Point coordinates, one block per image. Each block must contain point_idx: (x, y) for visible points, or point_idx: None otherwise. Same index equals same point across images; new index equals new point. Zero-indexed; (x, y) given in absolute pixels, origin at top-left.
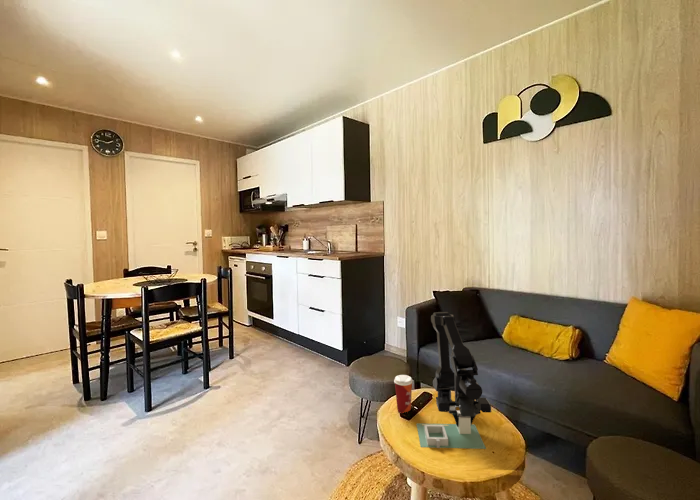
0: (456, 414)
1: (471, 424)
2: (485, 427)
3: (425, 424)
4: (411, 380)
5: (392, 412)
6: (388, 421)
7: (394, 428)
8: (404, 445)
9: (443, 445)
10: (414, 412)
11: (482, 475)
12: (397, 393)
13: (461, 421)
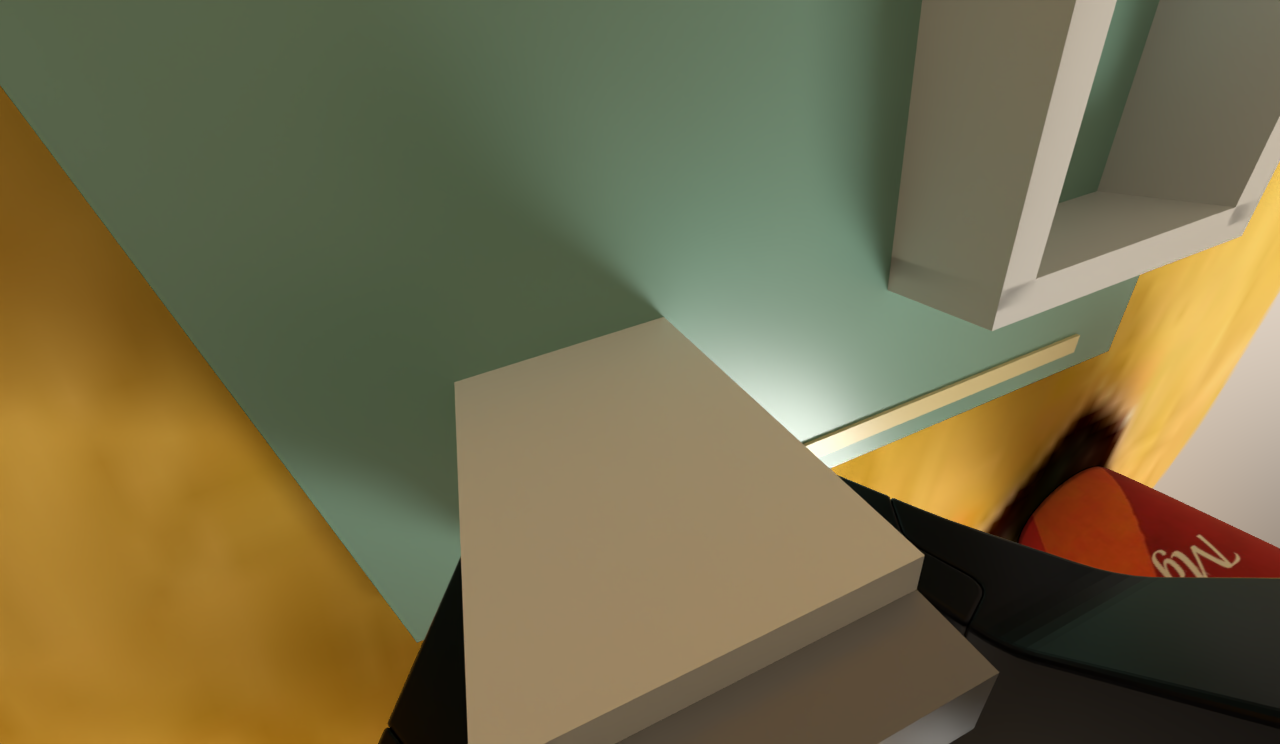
0: (1101, 649)
1: (451, 578)
2: (238, 672)
3: (1041, 363)
4: None
5: (1147, 449)
6: (1238, 318)
7: (1261, 222)
8: None
9: None
10: (1004, 524)
11: None
12: None
13: (768, 486)
